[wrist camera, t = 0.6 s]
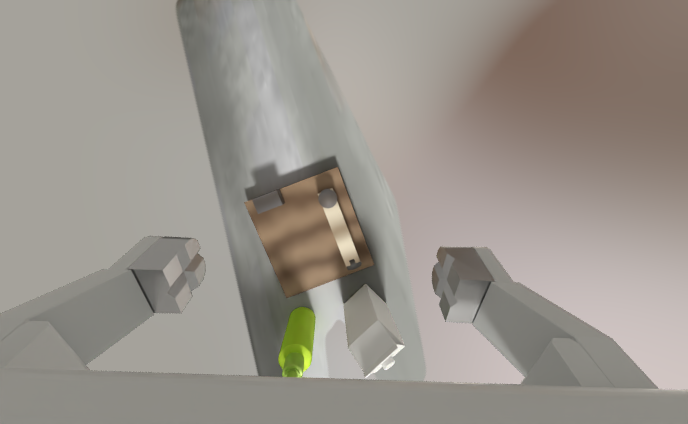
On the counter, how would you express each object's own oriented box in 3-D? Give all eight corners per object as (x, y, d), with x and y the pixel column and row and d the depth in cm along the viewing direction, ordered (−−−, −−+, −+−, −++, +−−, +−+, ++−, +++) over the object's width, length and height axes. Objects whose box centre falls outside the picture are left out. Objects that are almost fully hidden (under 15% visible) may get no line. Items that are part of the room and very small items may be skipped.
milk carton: (343, 304, 60) (349, 364, 41) (365, 283, 59) (382, 333, 41) (364, 324, 61) (380, 391, 42) (386, 303, 60) (412, 362, 42)
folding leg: (316, 192, 53) (315, 193, 50) (333, 185, 53) (333, 186, 50) (345, 266, 56) (346, 272, 52) (361, 260, 56) (363, 265, 52)
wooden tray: (372, 260, 59) (376, 269, 53) (288, 292, 59) (284, 305, 53) (337, 167, 55) (338, 166, 50) (248, 201, 55) (239, 204, 50)
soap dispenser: (280, 315, 59) (256, 386, 40) (308, 302, 59) (298, 367, 39) (292, 336, 60) (274, 416, 40) (319, 324, 60) (315, 398, 40)
